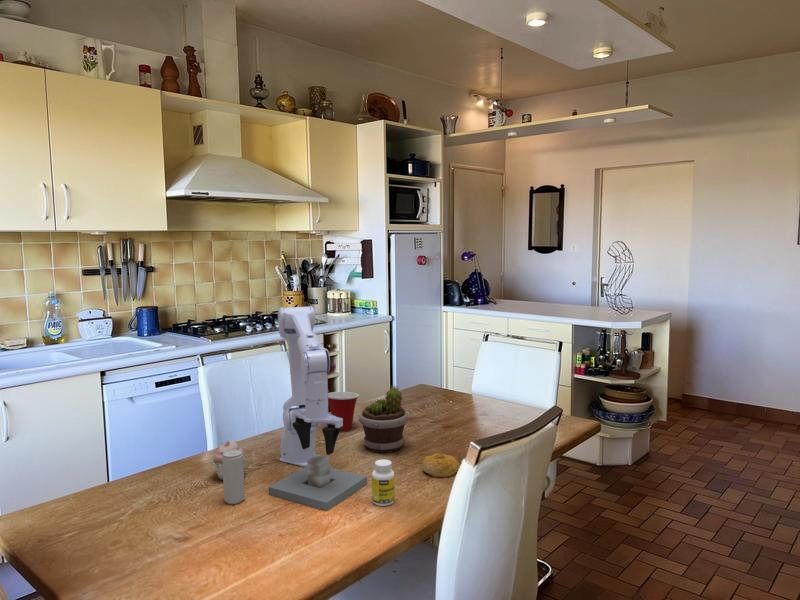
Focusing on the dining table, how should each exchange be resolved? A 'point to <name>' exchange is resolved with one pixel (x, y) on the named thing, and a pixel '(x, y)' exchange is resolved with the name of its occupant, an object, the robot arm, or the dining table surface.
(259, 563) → the dining table surface
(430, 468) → the bagel
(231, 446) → the cupcake
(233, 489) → the beverage can
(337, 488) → the socket board
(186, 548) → the dining table surface
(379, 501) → the supplement bottle
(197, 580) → the dining table surface
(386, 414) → the flowerpot
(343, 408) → the plastic cup
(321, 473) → the peg
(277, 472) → the dining table surface
